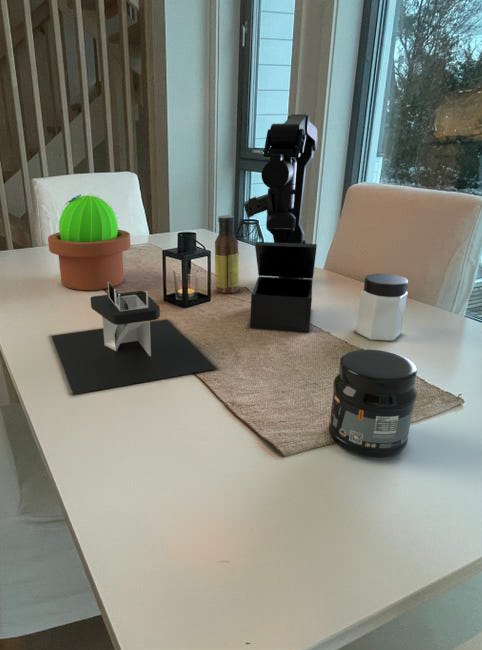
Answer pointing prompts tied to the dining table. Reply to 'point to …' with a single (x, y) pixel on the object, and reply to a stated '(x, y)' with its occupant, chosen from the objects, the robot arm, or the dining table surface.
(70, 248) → the potted cactus
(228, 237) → the sauce bottle
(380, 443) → the supplement container
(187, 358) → the black-topped pedestal
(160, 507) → the dining table surface
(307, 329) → the black storage bin
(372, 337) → the jar
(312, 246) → the bin lid
